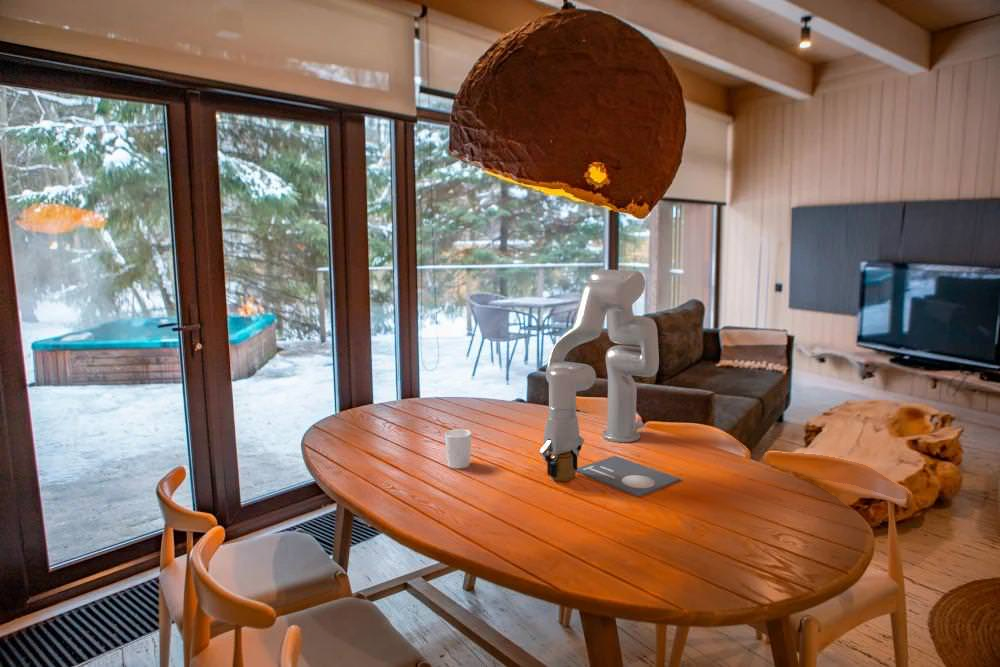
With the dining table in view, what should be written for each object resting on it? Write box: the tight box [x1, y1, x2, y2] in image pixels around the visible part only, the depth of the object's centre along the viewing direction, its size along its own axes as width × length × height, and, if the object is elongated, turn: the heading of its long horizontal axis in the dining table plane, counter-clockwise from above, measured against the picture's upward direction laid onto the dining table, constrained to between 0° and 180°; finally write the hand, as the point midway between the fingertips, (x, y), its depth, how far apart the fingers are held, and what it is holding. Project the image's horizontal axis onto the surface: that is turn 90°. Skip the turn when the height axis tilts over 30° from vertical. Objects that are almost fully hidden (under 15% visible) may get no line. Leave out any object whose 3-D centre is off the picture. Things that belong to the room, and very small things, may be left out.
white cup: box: [444, 428, 472, 470], centre depth 188 cm, size 8×8×10 cm
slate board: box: [575, 455, 681, 498], centre depth 179 cm, size 18×24×1 cm
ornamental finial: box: [550, 451, 577, 482], centre depth 177 cm, size 8×8×8 cm
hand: (562, 471), depth 177 cm, fingers closed on ornamental finial, 7 cm apart
